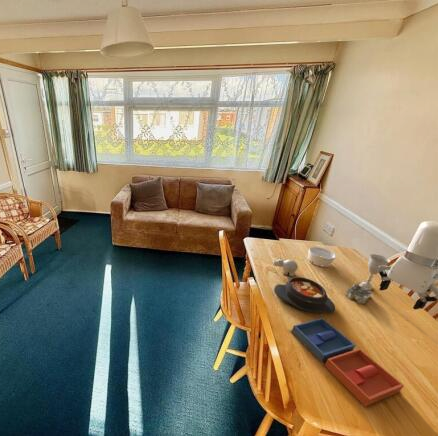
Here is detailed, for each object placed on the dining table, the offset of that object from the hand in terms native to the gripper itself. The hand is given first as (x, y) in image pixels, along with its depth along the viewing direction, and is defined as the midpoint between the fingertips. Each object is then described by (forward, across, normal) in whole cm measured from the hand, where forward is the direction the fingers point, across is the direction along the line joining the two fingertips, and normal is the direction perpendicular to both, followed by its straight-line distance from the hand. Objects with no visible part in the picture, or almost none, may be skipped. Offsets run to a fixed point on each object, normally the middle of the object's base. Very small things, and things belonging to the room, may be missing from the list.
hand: (399, 298), depth 81 cm
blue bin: (+22, +6, +21) cm, 31 cm away
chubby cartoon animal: (+22, +46, -1) cm, 51 cm away
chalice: (+22, +24, -32) cm, 46 cm away
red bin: (+22, -8, +21) cm, 32 cm away
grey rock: (+22, +20, -20) cm, 36 cm away
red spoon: (+22, -8, +21) cm, 31 cm away
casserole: (+22, +26, +8) cm, 35 cm away
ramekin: (+22, +48, -29) cm, 61 cm away
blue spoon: (+21, +6, +21) cm, 30 cm away
